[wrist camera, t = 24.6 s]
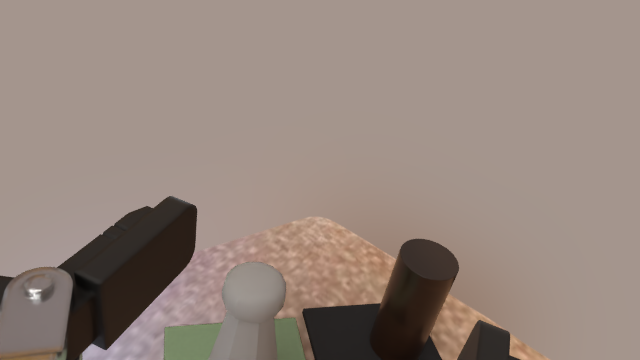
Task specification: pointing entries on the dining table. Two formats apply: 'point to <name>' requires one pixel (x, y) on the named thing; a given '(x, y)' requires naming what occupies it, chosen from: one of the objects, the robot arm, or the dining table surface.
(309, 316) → the dark mat
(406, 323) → the dark brown cylinder
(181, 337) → the sage mat
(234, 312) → the salt shaker
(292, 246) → the dining table surface
